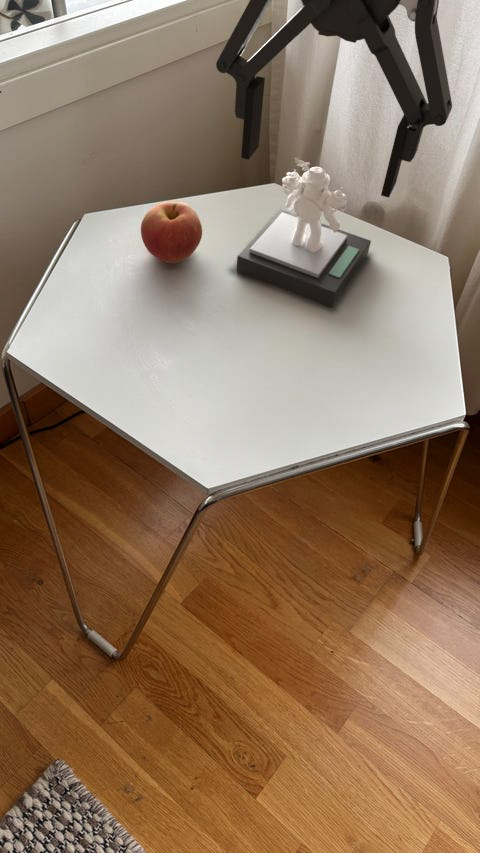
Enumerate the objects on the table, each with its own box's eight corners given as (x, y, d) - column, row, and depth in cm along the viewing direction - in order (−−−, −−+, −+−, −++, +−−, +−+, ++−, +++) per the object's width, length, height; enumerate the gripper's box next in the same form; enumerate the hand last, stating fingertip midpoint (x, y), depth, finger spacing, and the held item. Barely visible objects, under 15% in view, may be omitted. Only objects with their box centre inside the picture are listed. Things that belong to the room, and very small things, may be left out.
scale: (367, 255, 99) (372, 236, 97) (331, 307, 92) (335, 288, 89) (277, 223, 103) (280, 204, 100) (236, 271, 95) (237, 252, 93)
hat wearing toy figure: (270, 238, 95) (280, 154, 86) (285, 224, 97) (297, 142, 88) (328, 264, 92) (344, 181, 83) (342, 250, 94) (360, 167, 85)
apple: (214, 258, 96) (216, 207, 90) (167, 280, 93) (166, 228, 87) (178, 230, 100) (177, 179, 94) (131, 250, 96) (128, 198, 90)
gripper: (547, -88, 50) (456, 185, 66) (219, -148, 54) (210, 120, 71) (536, -58, 45) (441, 227, 61) (178, -126, 50) (179, 155, 66)
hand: (317, 170), depth 66 cm, fingers open, 13 cm apart
